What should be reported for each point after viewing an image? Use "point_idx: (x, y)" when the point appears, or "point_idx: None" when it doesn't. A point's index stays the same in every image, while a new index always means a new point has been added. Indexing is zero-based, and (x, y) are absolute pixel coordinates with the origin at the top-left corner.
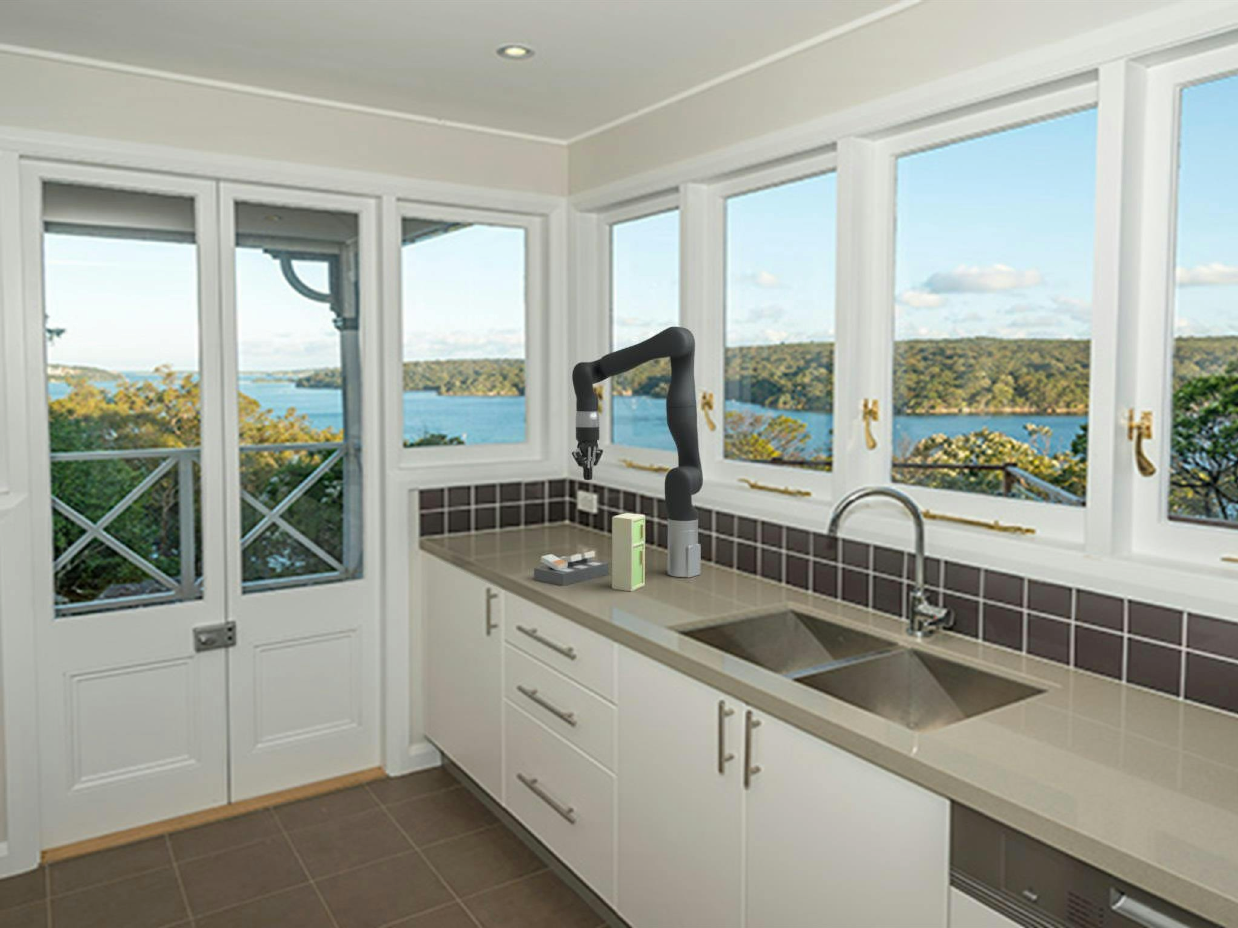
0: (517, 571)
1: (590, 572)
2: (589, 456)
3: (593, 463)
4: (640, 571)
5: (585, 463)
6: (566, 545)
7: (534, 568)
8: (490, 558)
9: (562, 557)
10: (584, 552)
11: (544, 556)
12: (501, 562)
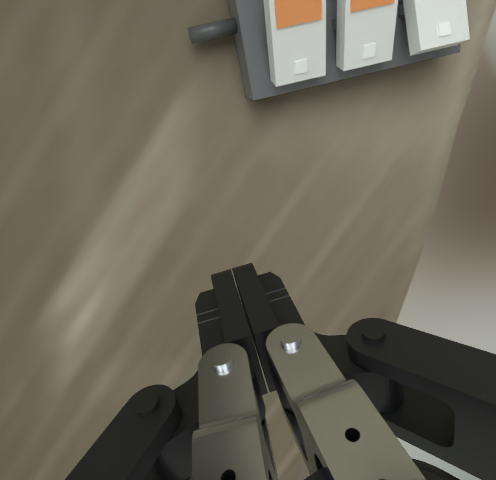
0: (395, 175)
1: None
2: (361, 449)
3: (206, 395)
4: None
5: (375, 353)
6: (102, 387)
7: (459, 49)
8: (346, 333)
9: (383, 32)
10: (301, 13)
11: (459, 35)
12: (356, 286)
